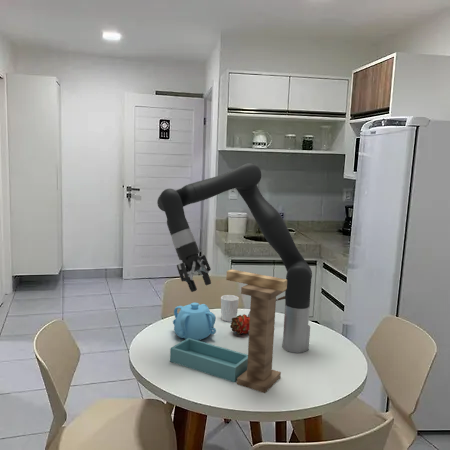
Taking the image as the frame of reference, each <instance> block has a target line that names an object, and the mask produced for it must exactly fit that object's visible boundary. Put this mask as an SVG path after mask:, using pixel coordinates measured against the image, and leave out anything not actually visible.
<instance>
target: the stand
mask: <svg viewBox="0 0 450 450" xmlns="http://www.w3.org/2000/svg"><path fill="white" fill-rule="evenodd" d="M285 291H286V290H284V291H279V290H274V289H269V288H264V287H259V286H254V285H249V284H245V285H244V286H241V287H240V294H241V295H246V296H250V308H249V312H250V325H249V331H248V332H249V333H248V345H247V348H248V349H247V355H248V364H247V370H246V371H245V372H244V373H243V374H241V375H240V376H239V377H238V378H237V381H236V385H238V386H241V387H245V388H248V389H251V390H254V391H256V392H260V393H263V394H266V393H267V392H268V391H269V390H270V389H271V388H272V387H273V386H274V385H275V384H276V383H277V382H278V381H279V380H280V379H281V374H282V372H281V371H278V370H275V369H273V359H274V358H273V357H274V353H273V352H274V341H275V340H274V337H275V322H276V321H275V320H276V305H277V304H276V303H277V301H276V299H277V297H278V296H279V295H281V294H282V293H284V292H285Z"/></svg>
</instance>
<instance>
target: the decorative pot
mask: <svg viewBox="0 0 450 450" xmlns="http://www.w3.org/2000/svg"><path fill="white" fill-rule="evenodd" d="M178 309H180V310H179V312H178ZM173 314H174V319H173V320H172V324H173V331H174V333H175V334H176V336H178V337H179V338H180V339H184V340H185V339H187V338H191V339H194V340H198V341H201V340H203V339H206V338H208V337H209V336H210V335H214V334H216V332H217V329H216V328H215V324H216V319H217V318H216V315H215V314H214V312H212V311H211V310H210V308H209V307H208V305H207V304H205V303H201V304H200V303H199V302H191V303H189V304H186V305H184V306H183V305H178V306H175V307H174V310H173Z"/></svg>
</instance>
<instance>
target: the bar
mask: <svg viewBox="0 0 450 450" xmlns="http://www.w3.org/2000/svg"><path fill="white" fill-rule="evenodd" d="M225 275H226V279H225V280H226V281H230V282H234V283H240V284H245V285H248V284H249V285H254V286H259V287H264V288H269V289H274V290H279V291H284V290H286V289H287V279H286V278H280V277H275V276H269V275H264V274H260V273H253V272H248V271H243V270H242V271H241V270H237V269H229V270H226V274H225ZM284 292H285V291H284Z"/></svg>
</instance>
